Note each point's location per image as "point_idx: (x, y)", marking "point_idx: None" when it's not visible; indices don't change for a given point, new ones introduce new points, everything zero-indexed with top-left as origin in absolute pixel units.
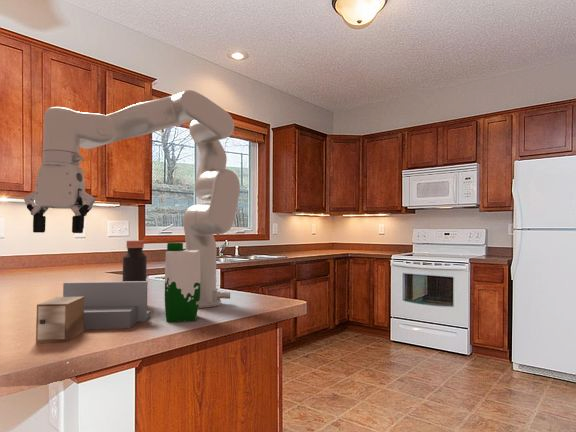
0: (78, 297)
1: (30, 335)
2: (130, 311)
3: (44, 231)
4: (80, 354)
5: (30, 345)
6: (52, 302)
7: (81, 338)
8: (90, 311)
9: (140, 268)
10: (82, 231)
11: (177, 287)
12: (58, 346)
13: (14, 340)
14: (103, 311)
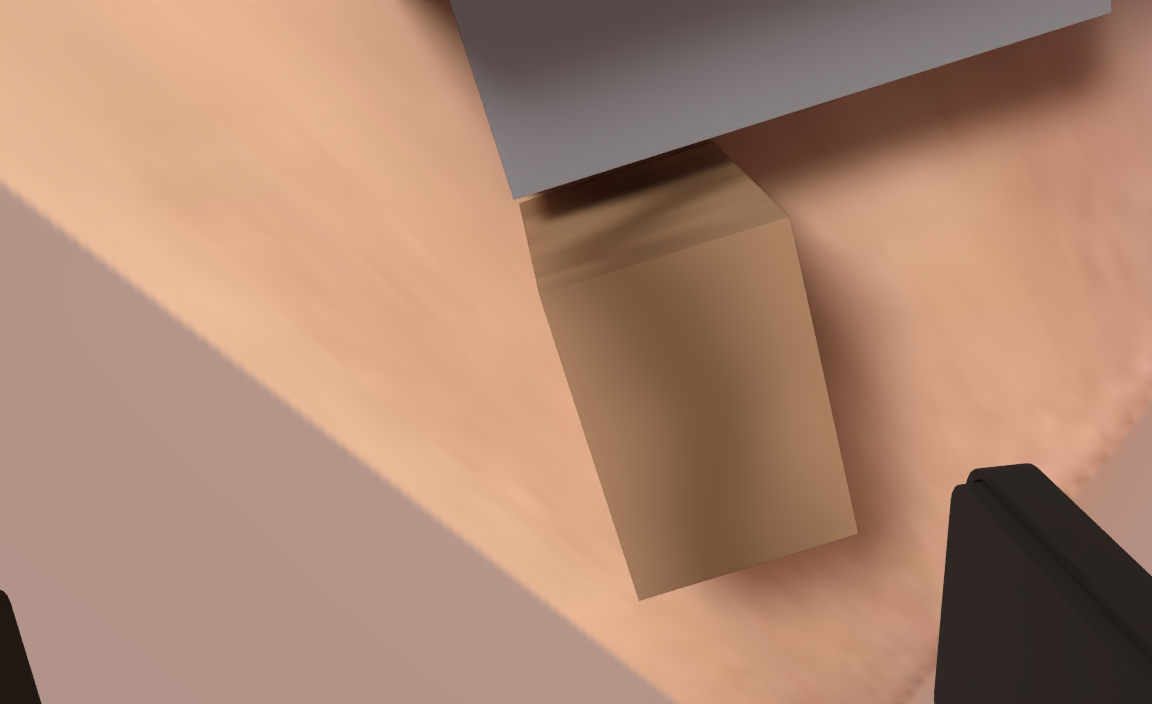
0: (766, 274)
1: (418, 325)
2: (1109, 4)
3: (2, 603)
4: None
5: None
6: (698, 513)
7: (818, 316)
8: (757, 90)
9: None
10: (1036, 486)
11: None
12: None
13: (419, 441)
14: (876, 70)
